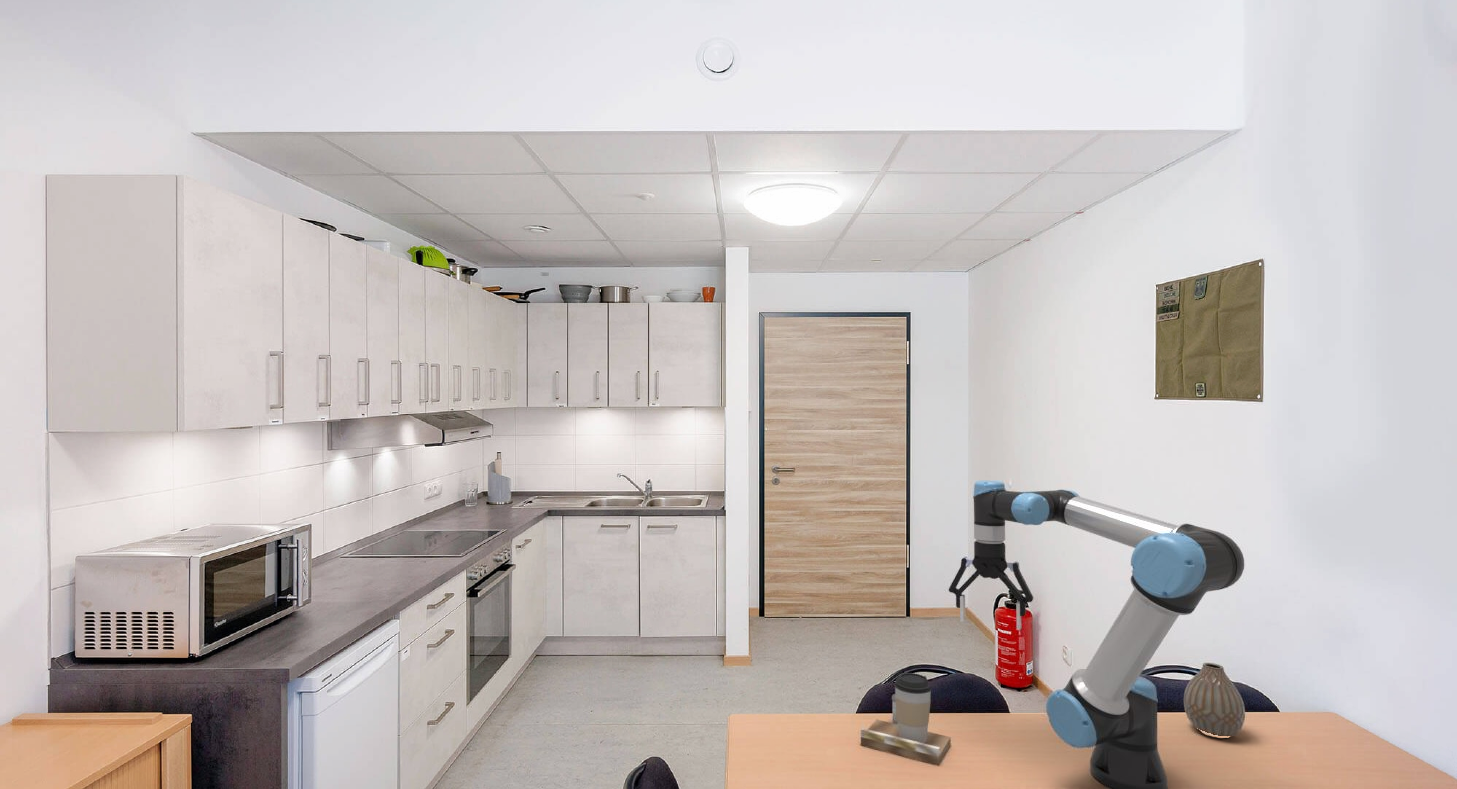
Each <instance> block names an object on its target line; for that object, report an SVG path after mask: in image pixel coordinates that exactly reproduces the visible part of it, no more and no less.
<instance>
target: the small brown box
mask: <svg viewBox="0 0 1457 789" xmlns="http://www.w3.org/2000/svg"><path fill="white" fill-rule="evenodd" d="M951 739H952V738H951V736H947V735H943V734H940V733H939V734H938V733H935V732H932V731H931V732H930V731H927V741H926V742H925V743H920V742H916V741H912V740H908V739H904V738H900V737H899V733H898V724H894V723H893V722H889V721H885V720H882V719H878V718H877V719H875V720H874V722H873V723H872V724H871V725H870V726H869V727H868V728H863V727H862V728H861V729H860V746H862V747H867V748H870V749H875V750H878V751H881V752H885V753H887V754H889V753H890V754H893V755H897V756H900V757H904V758H908V759H912V760H915V761H919V762H923V763H927V764H931V765H935V766H940V764H941V763H942V762H943V759H944V757H945V756H946V754H947V752H948V750H949V749H950V748H951V745H952V743H951V741H952V740H951Z"/></svg>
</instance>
